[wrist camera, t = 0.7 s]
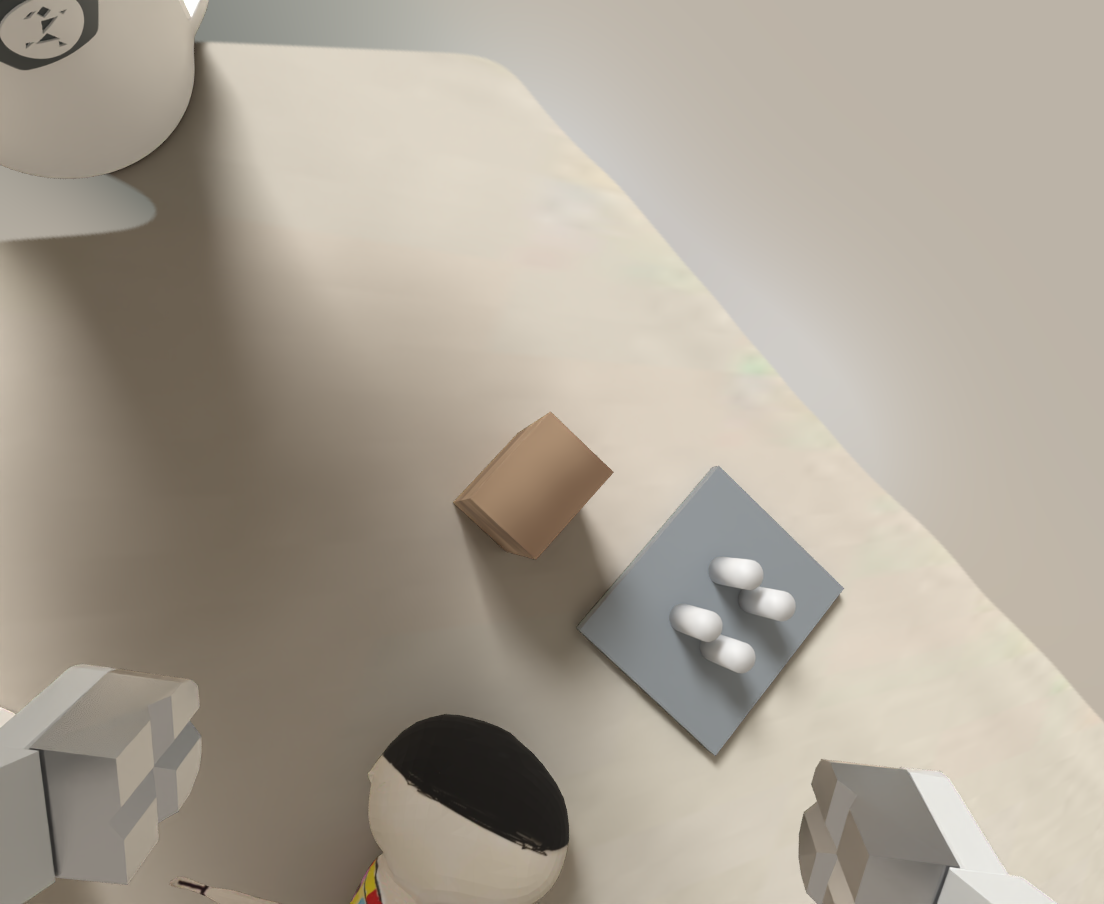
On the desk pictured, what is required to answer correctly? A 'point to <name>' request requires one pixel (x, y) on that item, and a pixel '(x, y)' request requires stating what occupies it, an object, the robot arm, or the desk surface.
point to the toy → (455, 821)
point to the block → (534, 487)
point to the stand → (711, 609)
